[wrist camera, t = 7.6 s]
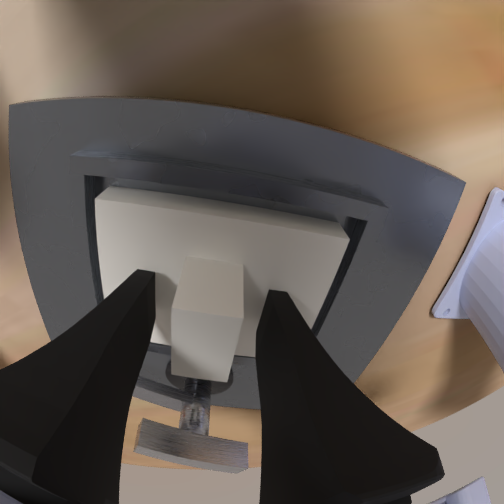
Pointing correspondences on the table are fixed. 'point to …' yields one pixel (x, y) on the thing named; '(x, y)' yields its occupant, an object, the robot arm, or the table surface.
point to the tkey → (186, 429)
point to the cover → (214, 268)
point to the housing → (228, 190)
